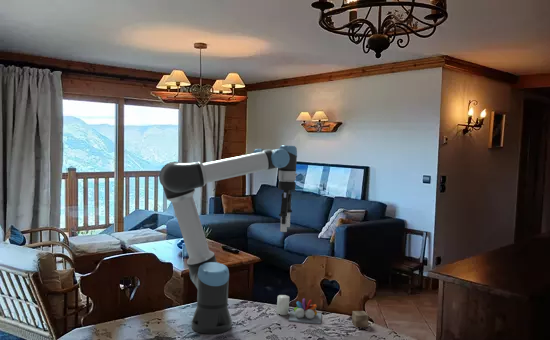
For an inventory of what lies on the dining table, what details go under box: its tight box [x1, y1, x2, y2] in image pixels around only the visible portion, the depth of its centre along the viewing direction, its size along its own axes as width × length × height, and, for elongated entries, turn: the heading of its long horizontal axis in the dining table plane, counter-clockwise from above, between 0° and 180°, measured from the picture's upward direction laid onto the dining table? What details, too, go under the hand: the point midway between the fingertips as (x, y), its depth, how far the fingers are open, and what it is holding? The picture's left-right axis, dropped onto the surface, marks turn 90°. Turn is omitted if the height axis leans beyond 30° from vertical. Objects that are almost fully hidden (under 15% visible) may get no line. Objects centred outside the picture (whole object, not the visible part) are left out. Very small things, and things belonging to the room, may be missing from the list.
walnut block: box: [351, 310, 369, 328], centre depth 175 cm, size 5×5×5 cm
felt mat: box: [288, 310, 323, 325], centre depth 181 cm, size 13×11×1 cm
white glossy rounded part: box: [276, 294, 290, 316], centre depth 185 cm, size 5×5×7 cm
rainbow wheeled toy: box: [293, 298, 318, 319], centre depth 181 cm, size 8×10×7 cm
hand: (285, 229), depth 192 cm, fingers open, 13 cm apart
